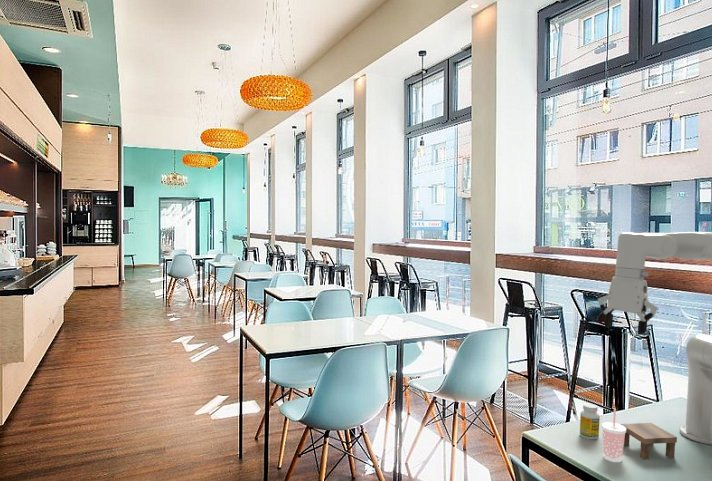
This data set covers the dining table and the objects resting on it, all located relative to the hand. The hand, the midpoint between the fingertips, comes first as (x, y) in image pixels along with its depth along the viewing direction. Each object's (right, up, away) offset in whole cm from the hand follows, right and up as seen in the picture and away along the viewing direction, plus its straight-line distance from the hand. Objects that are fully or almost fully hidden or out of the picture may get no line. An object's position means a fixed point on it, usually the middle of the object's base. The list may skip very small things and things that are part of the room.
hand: (624, 330), depth 153 cm
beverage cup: (-9, -34, -11) cm, 37 cm away
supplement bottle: (-9, -33, +3) cm, 35 cm away
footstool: (+3, -34, -6) cm, 34 cm away
